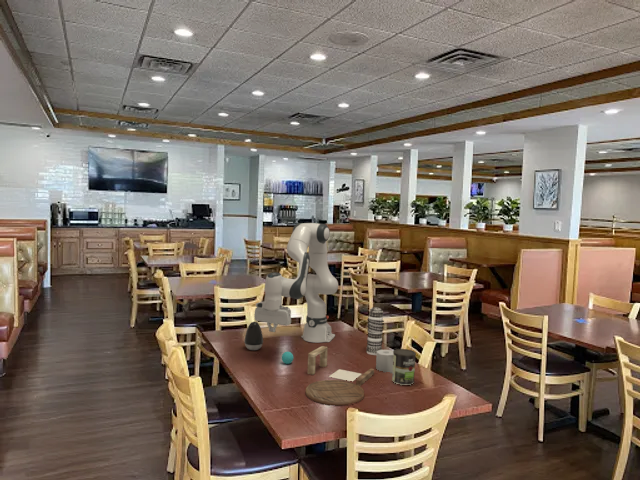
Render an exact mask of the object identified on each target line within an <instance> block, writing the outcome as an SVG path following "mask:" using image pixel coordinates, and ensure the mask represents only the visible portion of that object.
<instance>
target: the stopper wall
mask: <svg viewBox="0 0 640 480" xmlns="http://www.w3.org/2000/svg"><path fill="white" fill-rule="evenodd" d="M372 375H373V376H374V375H375V369H374V368H369V369H368V370H367V371H365V372H364V373H362V375H360V376H359V377H358V378H357V379H355V384H356V385H358V386H360V387H362V385H363V384H365V383H366V382H367V381H368V380H369V379H370V378H372V377H373V376H372ZM365 381H366V382H365Z"/></svg>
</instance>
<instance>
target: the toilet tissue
mask: <svg viewBox="0 0 640 480" xmlns="http://www.w3.org/2000/svg"><path fill="white" fill-rule="evenodd" d="M393 351H394V350H391V349H382V350H378V351H377V355H375V356H376V358H375V359H376V360H375V361H376V362H375V364H376V365H375V369H377V370H376V371H378V370H379V371H378V372H380V371H383V372H382V373H386V372H390V373H389V374H392V373H393V354H394V353H393Z"/></svg>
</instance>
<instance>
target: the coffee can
mask: <svg viewBox="0 0 640 480" xmlns="http://www.w3.org/2000/svg"><path fill="white" fill-rule="evenodd" d="M392 351H393V353H394V354H393V373H391V374H392V377H391V381H393V382H394V383H393V382H392V383H393V384H395V383H396V384H395V385H397V384H400V385H399V386H402V385H410V386H412V385H411V384H413V383H414V384H415V371H416V369H415V368H416V355H417V352H415V351H414V350H411V349H405V348H397V349H394V350H392ZM414 384H413V385H414Z"/></svg>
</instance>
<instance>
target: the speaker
mask: <svg viewBox="0 0 640 480" xmlns="http://www.w3.org/2000/svg"><path fill="white" fill-rule="evenodd" d="M243 342H244V345H245V348H247V350H250V351H258V350H260V349H261V348H262V346H263V343H264V337H263V332H262V328H261V325H260V324H259V322H258V321H251V322H250V323H249V325H248V326H247V329H246V332H245V335H244V341H243Z"/></svg>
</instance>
